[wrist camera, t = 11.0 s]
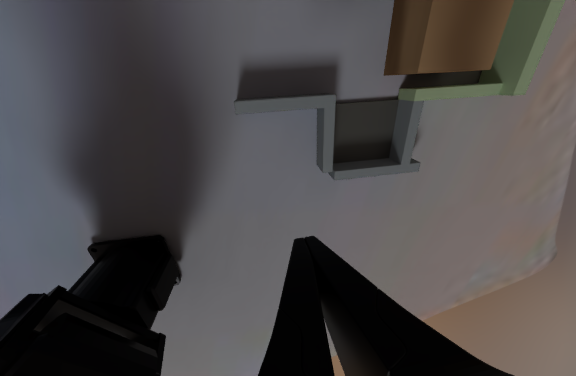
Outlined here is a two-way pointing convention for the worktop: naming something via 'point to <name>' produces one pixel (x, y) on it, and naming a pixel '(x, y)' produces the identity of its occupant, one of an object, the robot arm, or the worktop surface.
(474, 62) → the walnut block
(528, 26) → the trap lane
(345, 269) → the robot arm
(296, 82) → the worktop surface
